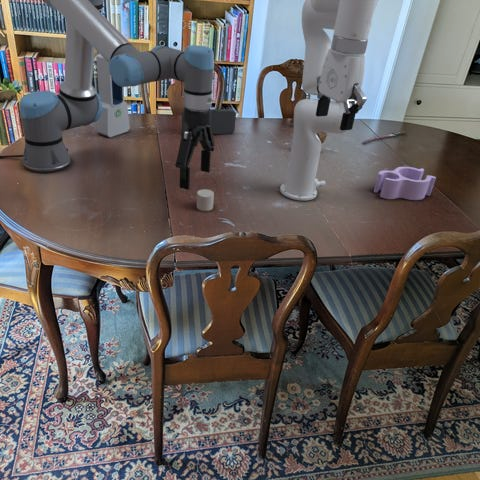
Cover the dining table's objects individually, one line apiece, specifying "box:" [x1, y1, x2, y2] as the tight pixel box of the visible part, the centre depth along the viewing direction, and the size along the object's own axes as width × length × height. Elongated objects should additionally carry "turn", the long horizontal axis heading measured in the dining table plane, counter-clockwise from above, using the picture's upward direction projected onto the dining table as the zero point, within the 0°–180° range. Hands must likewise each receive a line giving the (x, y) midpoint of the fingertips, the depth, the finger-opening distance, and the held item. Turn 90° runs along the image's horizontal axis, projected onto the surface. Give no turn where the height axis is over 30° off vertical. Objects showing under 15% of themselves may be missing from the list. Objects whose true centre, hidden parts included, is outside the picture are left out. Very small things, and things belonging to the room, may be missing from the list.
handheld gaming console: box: [180, 108, 237, 135], centre depth 196 cm, size 23×3×10 cm, turn 108°
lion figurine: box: [316, 132, 328, 145], centre depth 190 cm, size 15×5×9 cm, turn 110°
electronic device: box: [94, 53, 131, 138], centre depth 181 cm, size 12×8×30 cm, turn 148°
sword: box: [363, 132, 408, 145], centre depth 213 cm, size 31×3×1 cm, turn 126°
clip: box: [373, 166, 437, 201], centre depth 164 cm, size 20×12×7 cm, turn 109°
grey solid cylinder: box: [196, 188, 215, 212], centre depth 143 cm, size 5×5×5 cm
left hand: (195, 179), depth 137 cm, fingers open, 13 cm apart
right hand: (333, 122), depth 110 cm, fingers open, 9 cm apart
